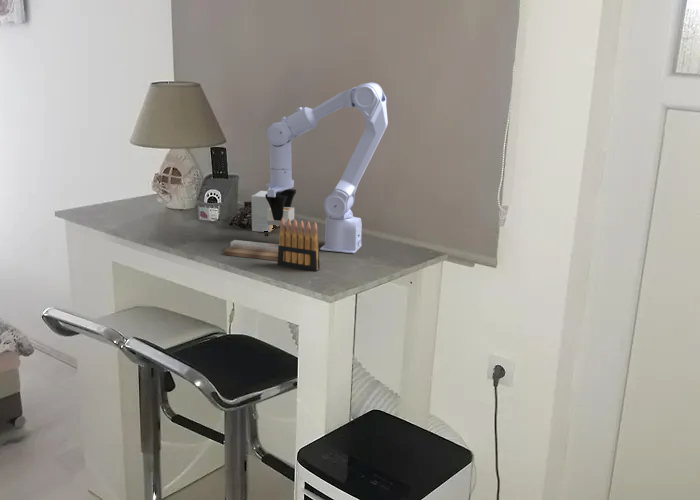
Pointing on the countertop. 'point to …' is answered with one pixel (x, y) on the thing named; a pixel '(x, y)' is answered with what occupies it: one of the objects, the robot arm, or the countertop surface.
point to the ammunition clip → (298, 246)
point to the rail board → (251, 254)
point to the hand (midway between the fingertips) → (281, 218)
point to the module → (287, 214)
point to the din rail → (254, 246)
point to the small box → (260, 212)
